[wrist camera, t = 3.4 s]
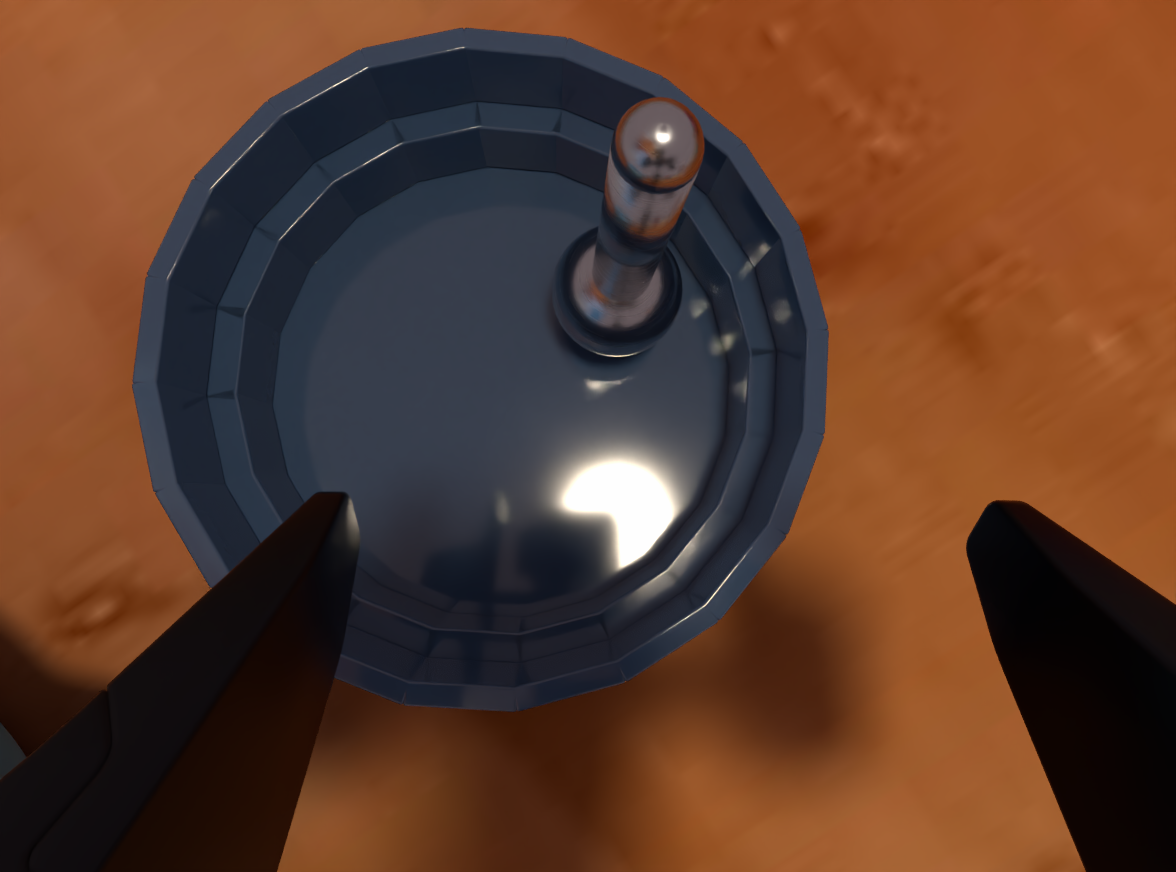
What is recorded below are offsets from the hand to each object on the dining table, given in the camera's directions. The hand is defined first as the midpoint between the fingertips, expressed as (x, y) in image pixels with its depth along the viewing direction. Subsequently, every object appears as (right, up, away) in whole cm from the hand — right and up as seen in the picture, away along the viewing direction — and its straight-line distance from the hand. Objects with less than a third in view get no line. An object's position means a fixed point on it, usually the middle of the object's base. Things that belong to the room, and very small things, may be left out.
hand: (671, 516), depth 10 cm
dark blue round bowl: (-4, +3, +13) cm, 14 cm away
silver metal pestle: (0, +5, +12) cm, 13 cm away
